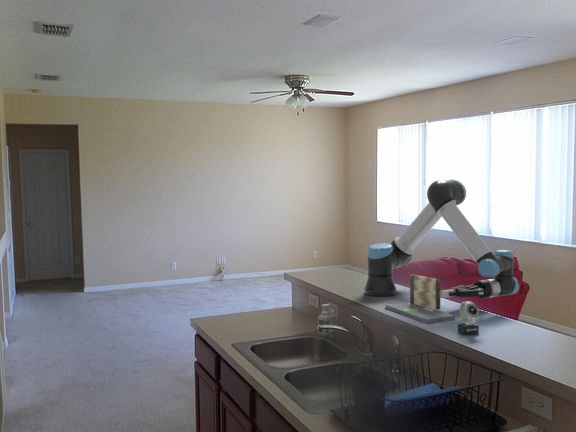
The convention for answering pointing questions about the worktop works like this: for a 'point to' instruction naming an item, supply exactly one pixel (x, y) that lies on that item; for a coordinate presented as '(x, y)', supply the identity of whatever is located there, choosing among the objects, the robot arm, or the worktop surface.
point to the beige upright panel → (425, 291)
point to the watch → (472, 313)
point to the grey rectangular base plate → (420, 312)
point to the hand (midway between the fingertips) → (441, 294)
